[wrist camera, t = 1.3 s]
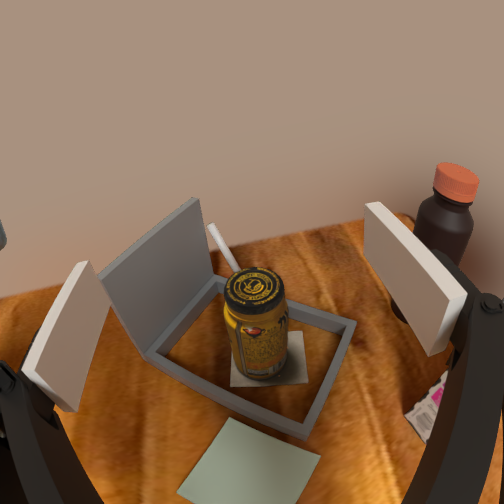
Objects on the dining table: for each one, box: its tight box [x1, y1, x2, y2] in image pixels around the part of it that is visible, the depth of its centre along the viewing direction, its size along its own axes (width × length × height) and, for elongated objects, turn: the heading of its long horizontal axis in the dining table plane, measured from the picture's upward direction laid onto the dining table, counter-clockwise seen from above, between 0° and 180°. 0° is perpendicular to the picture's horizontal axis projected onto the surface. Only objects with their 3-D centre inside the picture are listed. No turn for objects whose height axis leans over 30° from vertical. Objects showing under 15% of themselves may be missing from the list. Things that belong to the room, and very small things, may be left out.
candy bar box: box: [404, 298, 504, 445], centre depth 20 cm, size 11×5×16 cm, turn 114°
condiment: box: [223, 267, 309, 387], centre depth 29 cm, size 7×8×12 cm
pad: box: [176, 417, 321, 504], centre depth 22 cm, size 10×10×1 cm
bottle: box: [391, 163, 479, 324], centre depth 30 cm, size 7×7×20 cm
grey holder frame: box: [97, 197, 357, 442], centre depth 30 cm, size 21×16×14 cm
